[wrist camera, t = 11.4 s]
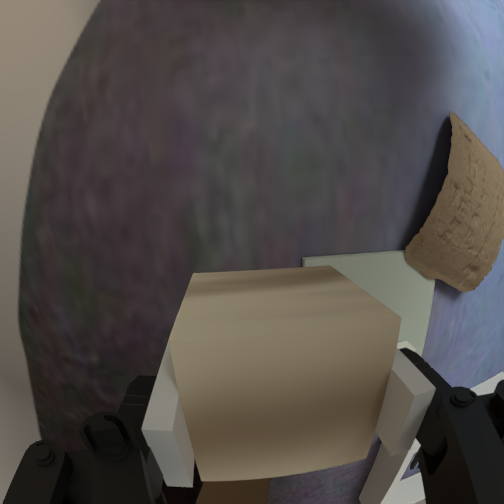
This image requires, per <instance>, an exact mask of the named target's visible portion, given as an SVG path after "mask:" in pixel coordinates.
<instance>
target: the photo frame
mask: <svg viewBox="0 0 504 504" xmlns="http://www.w3.org/2000/svg"><path fill="white" fill-rule="evenodd" d="M270 480H271V478H262V479H251V480H236V481H204V483H203V485H202V488H201V491H200V493H199V496H198V498H197V501H196V504H267V500H268V494H269V487H270Z"/></svg>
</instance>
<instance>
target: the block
mask: <svg viewBox="0 0 504 504" xmlns="http://www.w3.org/2000/svg"><path fill="white" fill-rule="evenodd" d="M401 319H402V317H400V316H399V315H398V314H396V313H395V312H394V311H392V310H391V309H390V308H388V307H387V306H386V305H384V304H383V303H382V302H380V301H379V300H378V299H376V298H375V297H373V296H372V295H371V294H369V293H368V292H367V291H365V290H364V289H362V288H361V287H360V286H358V285H357V284H356V283H354V282H353V281H351V280H350V279H349V278H347V277H346V276H344V275H343V274H342V273H340V272H339V271H337V270H336V269H335V268H333V267H332V266H330V265H328V266H313V267H298V268H282V269H266V270H249V271H230V272H211V273H193V275H192V278H191V280H190V283H189V286H188V288H187V291H186V293H185V296H184V299H183V301H182V304H181V307H180V309H179V312H178V315H177V318H176V320H175V323H174V326H173V329H172V331H171V334H170V337H169V346H170V351H171V357H172V362H173V368H174V373H175V378H176V383H177V388H178V392H179V397H180V401H181V405H182V410H183V414H184V418H185V422H186V426H187V430H188V433H189V437H190V441H191V444H192V448H193V452H194V455H195V461H196V464H197V468H198V471H199V475H200V478H201V481H236V480H251V479H262V478H272V477H280V476H287V475H294V474H300V473H306V472H312V471H317V470H322V469H327V468H331V467H336V466H340V465H344V464H348V463H352V462H356V461H359V460H363V459H366V458H367V455H368V452H369V449H370V447H371V444H372V441H373V438H374V435H375V429H376V426H377V422H378V419H379V415H380V412H381V408H382V404H383V401H384V397H385V393H386V388H387V384H388V380H389V375H390V371H391V368H392V367H393V363H394V358H395V353H396V348H397V343H398V337H399V331H400V325H401Z"/></svg>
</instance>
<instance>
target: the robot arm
mask: <svg viewBox="0 0 504 504" xmlns="http://www.w3.org/2000/svg"><path fill="white" fill-rule="evenodd" d="M176 318H177V317H176ZM375 431H376V433H377V434H378V436H379V438H380V440H381V441H382V443H383V445H384V447H385V448H386V450H387V452H388V453H389V455H390V457H391V456H394V455H397V454H400V453H402V452H405V451H408V450H410V449H411V447H412V445H413V442H414V440H415V438H416V439H417V441H418V442H419V444H420V445H421V446H420V448H419V450H418V452H417V453H416V455H415V457H414V459H413V461H412V463H411V465H410V470H411V469H414V467H415V465H416V463H417V462H419V465H418V467H417V468H420V472H421V477H422V482H423V488H424V494H425V500H426V504H504V379H503V380H501V381H499V382H498V383H497V386H496V388H495V390H494V392H493V393H490V394H484V395H477V394H476V393H475V392H474V391H472V390H470V389H469V388H465V387H453V388H452V387H451V386H450V385H449V384H448V383H447V382H446V381H445V380H444V379H443V378H442V377H441V376H440V375H439V374H438V373H437V372H436V371H435V370H434V369H433V368H431V367H430V365H429V364H428V363H427V362H424V359H423V358H422V357H421V356H420V355H419V354H417V353H416V352H414V351H412V350H410V349H408V348H406V347H405V348H401V349H398V348H396V353H395V358H394V363H393V367H392V368H391V371H390V375H389V380H388V384H387V388H386V393H385V397H384V401H383V404H382V408H381V412H380V415H379V419H378V422H377V426H376V429H375ZM79 433H80V435H81V436H82V438H83V440H84V442H85V443H86V445H87V447H88V448H89V450H83V451H68V452H65V450H64V449H63V447H62V446H61V445H60V444H59V443H57V442H55V441H52V440H40V441H37V442H35V443H33V444H32V445H30V446H29V448H28V449H27V450H26V452H25V454H24V456H23V458H22V460H21V462H20V464H19V466H18V469H17V471H16V473H15V475H14V478H13V480H12V482H11V484H10V487H9V489H8V492H7V494H6V496H5V499H4V501H3V504H167V502H166V499H165V496H164V494H163V492H162V490H161V489H162V482H163V479H164V481H165V483H166V485H167V486H175V487H193V473H194V458H195V455H194V452H193V448H192V444H191V441H190V437H189V433H188V430H187V426H186V422H185V418H184V414H183V410H182V405H181V401H180V397H179V392H178V388H177V383H176V378H175V373H174V368H173V362H172V357H171V351H170V346H169V341H168V344H167V347H166V350H165V353H164V356H163V359H162V362H161V365H160V368H159V372H158V375H157V376H138V377H137V378H136V379H135V380H133V381H132V382H131V383H130V384H129V387H128V389H127V392H126V396H124V399H123V401H122V404H121V406H120V409H119V411H118V414H117V413H114V412H102V413H97V414H94V415H92V416H90V417H88V418H87V419H86V420H85V421H84V422H83V423H82V424H81V426H80V429H79Z"/></svg>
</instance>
